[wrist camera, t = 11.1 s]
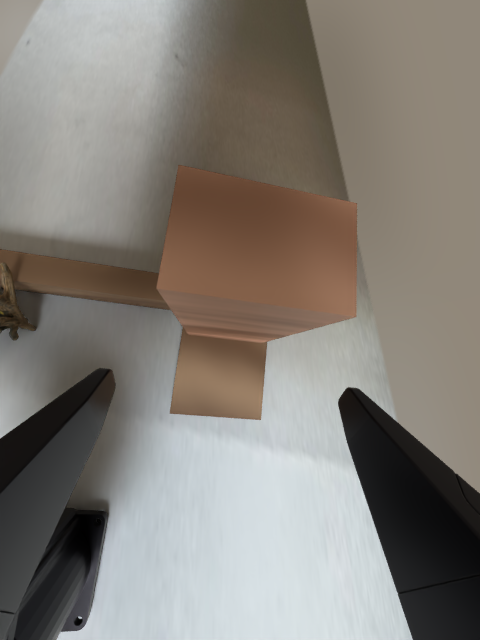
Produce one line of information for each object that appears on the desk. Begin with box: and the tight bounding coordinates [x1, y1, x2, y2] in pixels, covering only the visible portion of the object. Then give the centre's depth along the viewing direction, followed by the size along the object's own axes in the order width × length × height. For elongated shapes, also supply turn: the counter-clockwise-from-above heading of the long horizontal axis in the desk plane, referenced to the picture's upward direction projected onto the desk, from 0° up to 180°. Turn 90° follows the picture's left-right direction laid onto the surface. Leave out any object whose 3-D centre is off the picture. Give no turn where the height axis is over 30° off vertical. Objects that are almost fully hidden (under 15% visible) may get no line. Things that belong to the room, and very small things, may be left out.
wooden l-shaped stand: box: [0, 165, 357, 420], centre depth 12 cm, size 10×24×13 cm, turn 84°
